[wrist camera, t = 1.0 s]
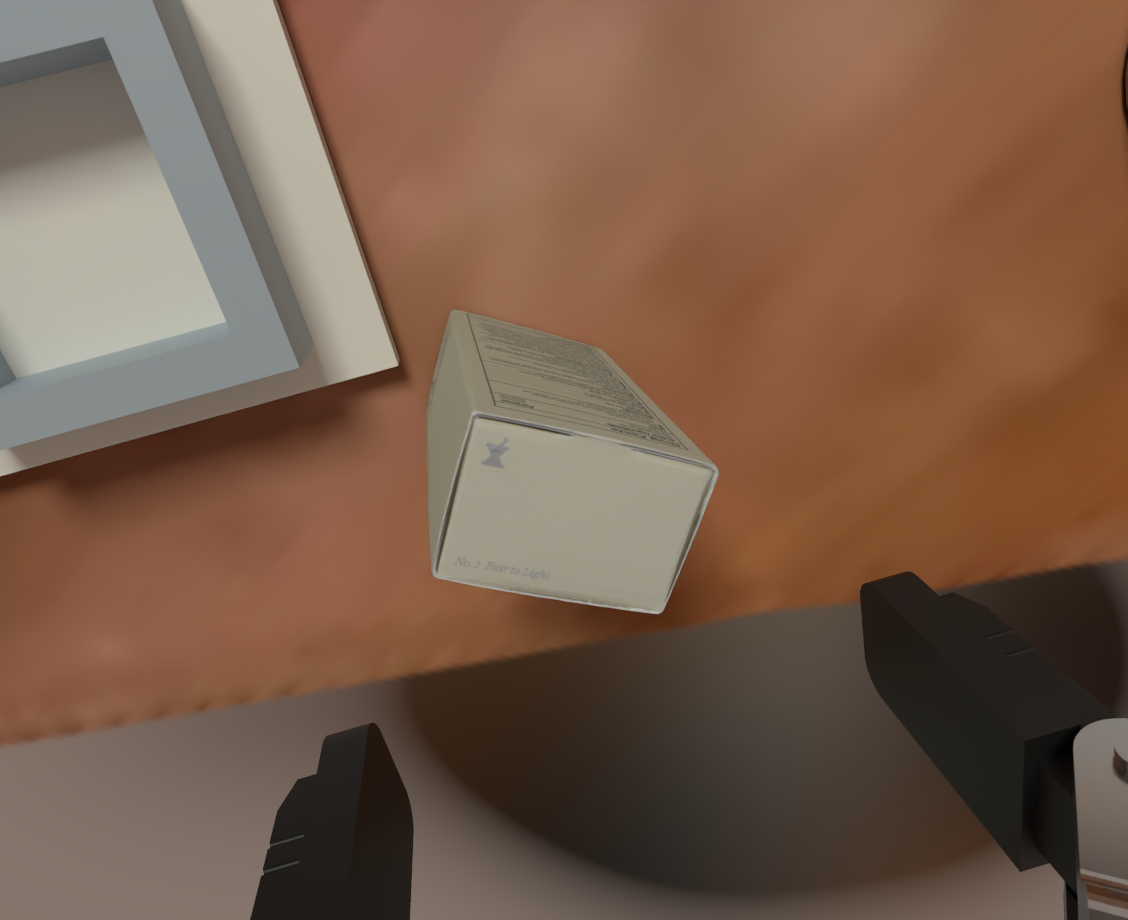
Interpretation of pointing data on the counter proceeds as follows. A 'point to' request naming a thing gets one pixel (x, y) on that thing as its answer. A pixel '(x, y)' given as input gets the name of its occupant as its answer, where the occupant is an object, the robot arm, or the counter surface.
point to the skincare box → (555, 471)
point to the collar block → (165, 225)
